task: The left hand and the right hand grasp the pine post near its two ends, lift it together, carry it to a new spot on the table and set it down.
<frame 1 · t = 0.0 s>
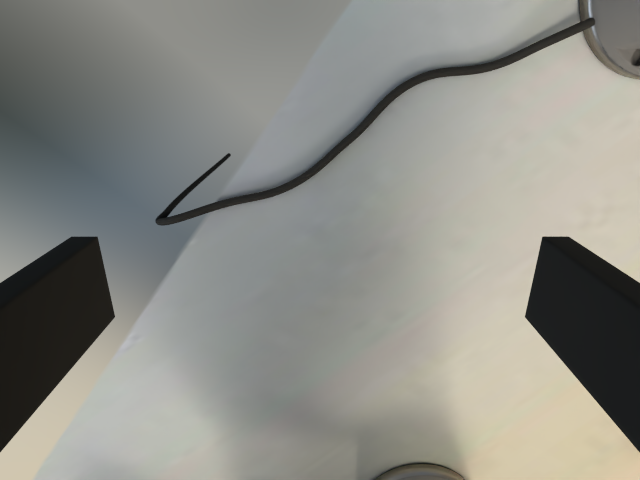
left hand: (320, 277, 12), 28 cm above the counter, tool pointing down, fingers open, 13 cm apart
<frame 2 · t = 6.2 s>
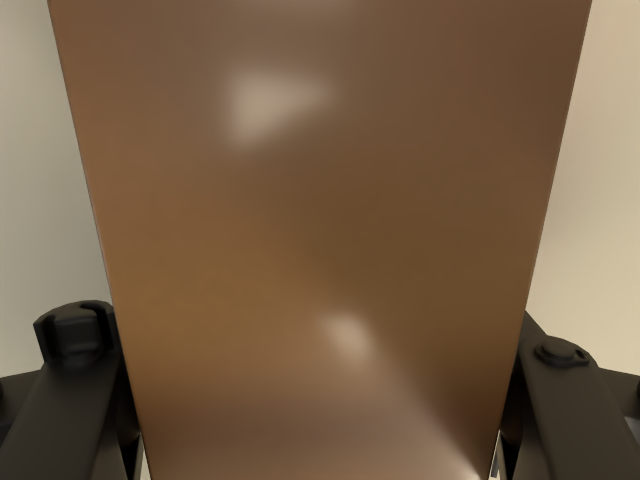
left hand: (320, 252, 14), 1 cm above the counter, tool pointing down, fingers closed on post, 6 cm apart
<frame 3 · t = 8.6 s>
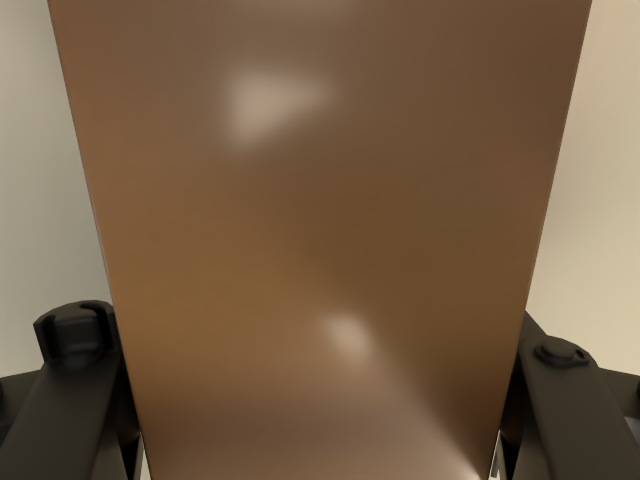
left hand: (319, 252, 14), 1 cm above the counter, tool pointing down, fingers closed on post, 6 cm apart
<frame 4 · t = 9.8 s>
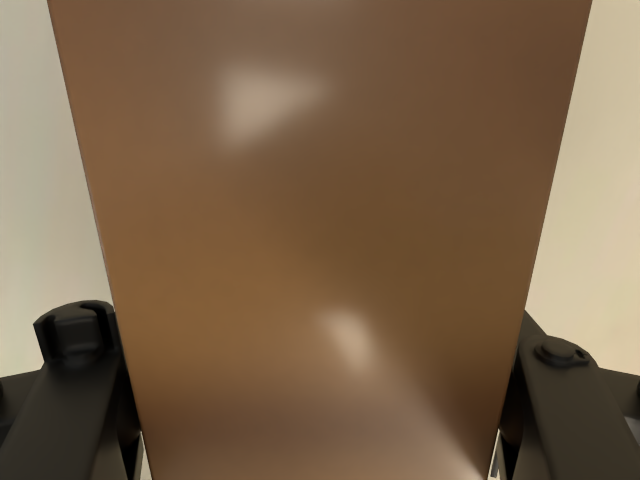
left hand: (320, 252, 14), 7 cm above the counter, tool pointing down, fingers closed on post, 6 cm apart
when the left hand's fingers open (2 cm above the counter, at t = 13.3 s): post drops 1 cm, on the counter.
when the right hand's fingers open (2 cm above the counter, at t = 13.3 s): post drops 1 cm, on the counter.
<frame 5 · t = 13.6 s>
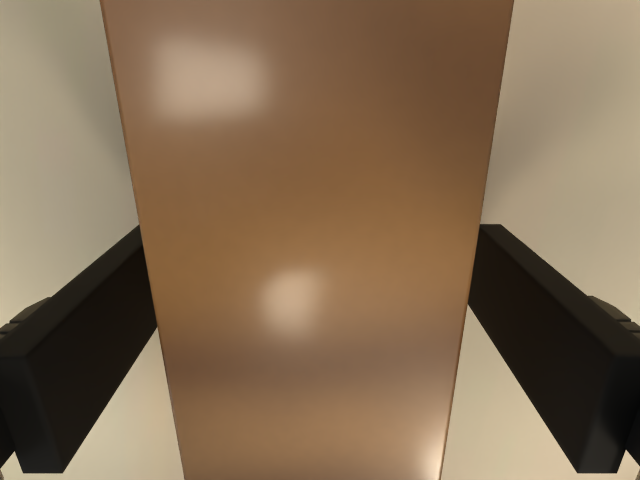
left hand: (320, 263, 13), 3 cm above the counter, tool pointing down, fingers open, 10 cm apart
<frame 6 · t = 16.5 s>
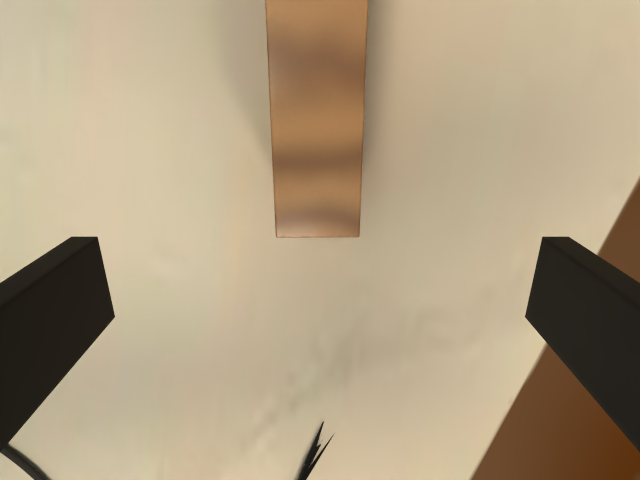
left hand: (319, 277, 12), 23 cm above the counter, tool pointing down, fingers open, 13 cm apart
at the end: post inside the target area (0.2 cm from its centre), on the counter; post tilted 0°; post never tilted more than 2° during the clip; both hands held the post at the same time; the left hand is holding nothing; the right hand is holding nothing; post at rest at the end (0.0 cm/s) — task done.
